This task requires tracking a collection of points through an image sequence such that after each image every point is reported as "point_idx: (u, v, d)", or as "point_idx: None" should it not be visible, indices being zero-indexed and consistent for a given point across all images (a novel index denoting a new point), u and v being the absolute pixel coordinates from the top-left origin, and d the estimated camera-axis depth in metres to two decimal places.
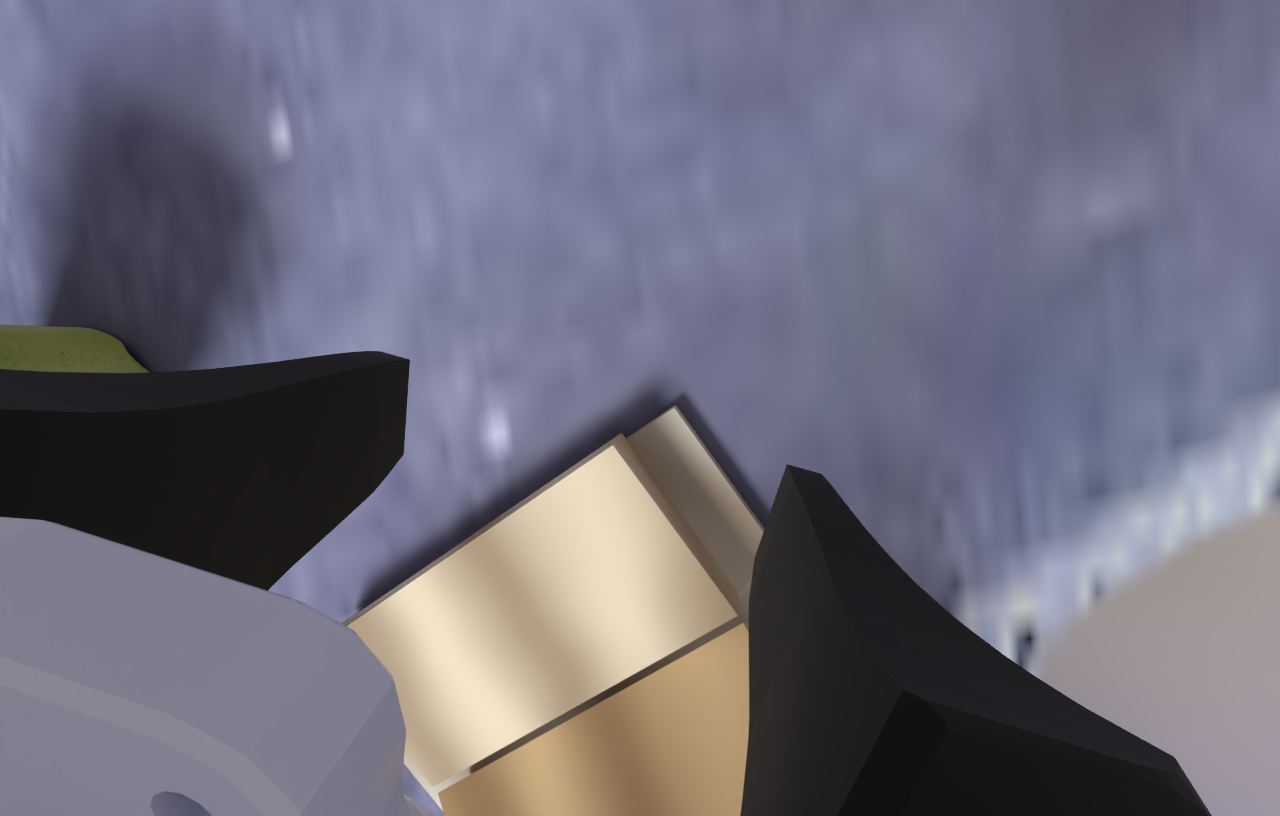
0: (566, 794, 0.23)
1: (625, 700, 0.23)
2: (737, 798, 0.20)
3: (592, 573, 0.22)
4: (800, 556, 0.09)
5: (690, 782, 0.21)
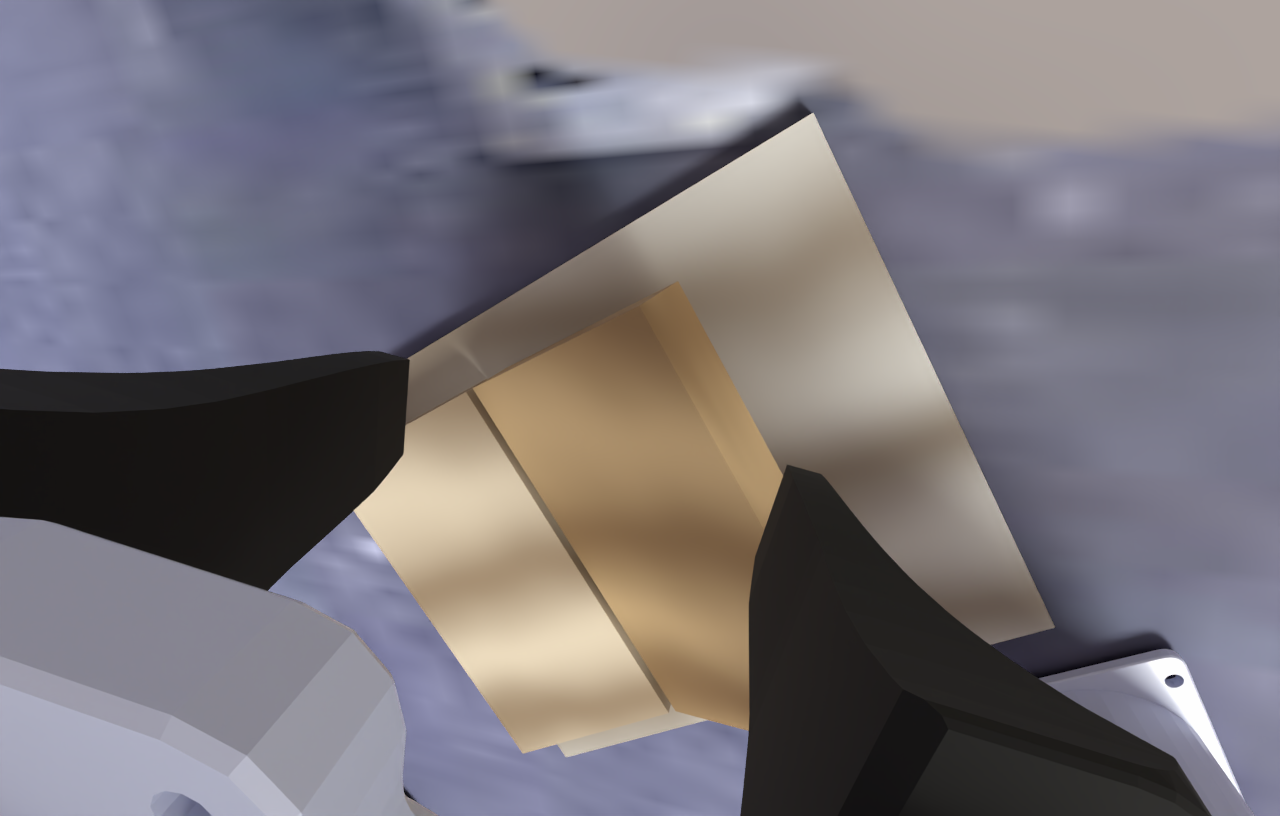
0: (639, 598, 0.22)
1: (556, 513, 0.22)
2: (589, 441, 0.19)
3: (436, 512, 0.24)
4: (800, 556, 0.09)
5: (592, 480, 0.20)
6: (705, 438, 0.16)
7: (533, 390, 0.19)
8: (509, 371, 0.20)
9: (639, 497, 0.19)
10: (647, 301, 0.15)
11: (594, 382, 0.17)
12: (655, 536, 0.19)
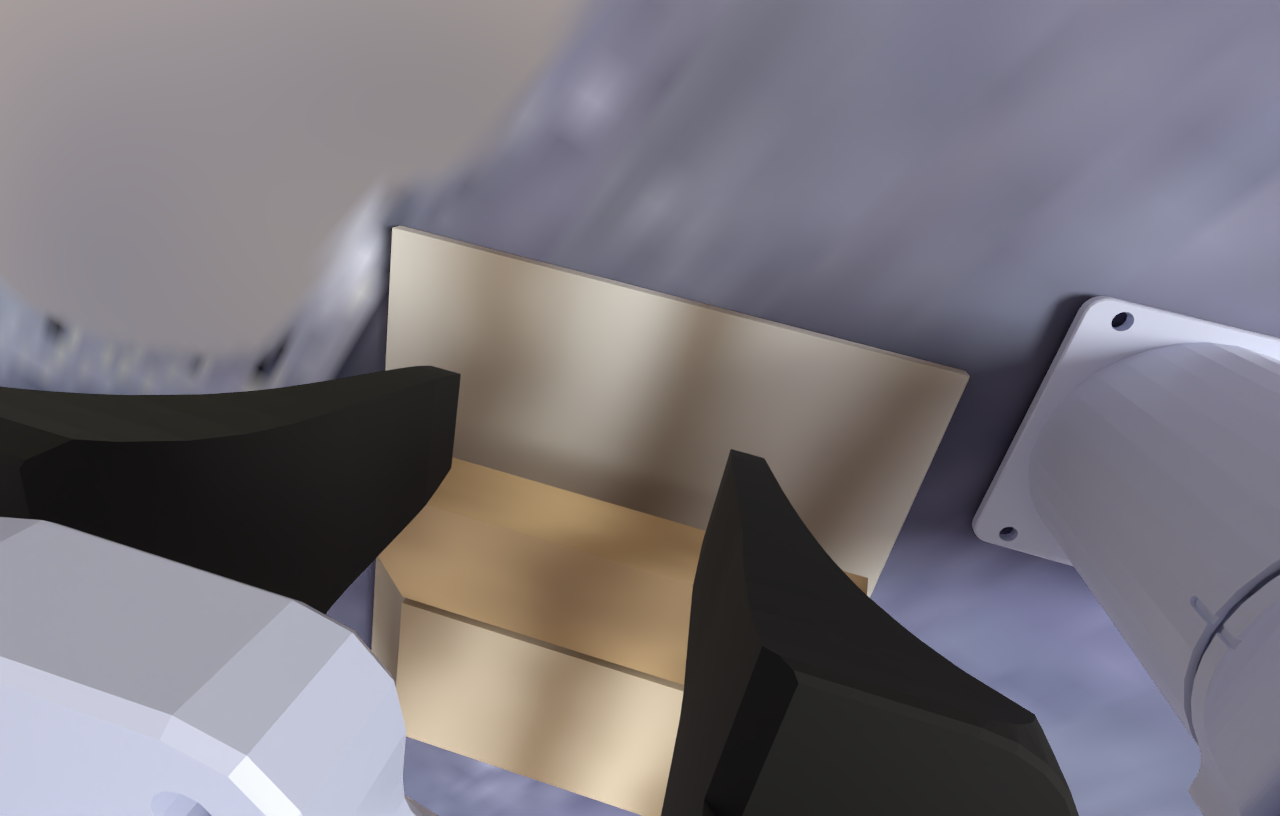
0: (629, 650, 0.22)
1: (531, 634, 0.23)
2: (455, 574, 0.20)
3: (473, 701, 0.26)
4: (728, 535, 0.09)
5: (496, 595, 0.21)
6: (456, 517, 0.17)
7: (405, 570, 0.22)
8: (387, 570, 0.22)
9: (516, 584, 0.20)
10: None
11: (398, 537, 0.19)
12: (558, 600, 0.20)
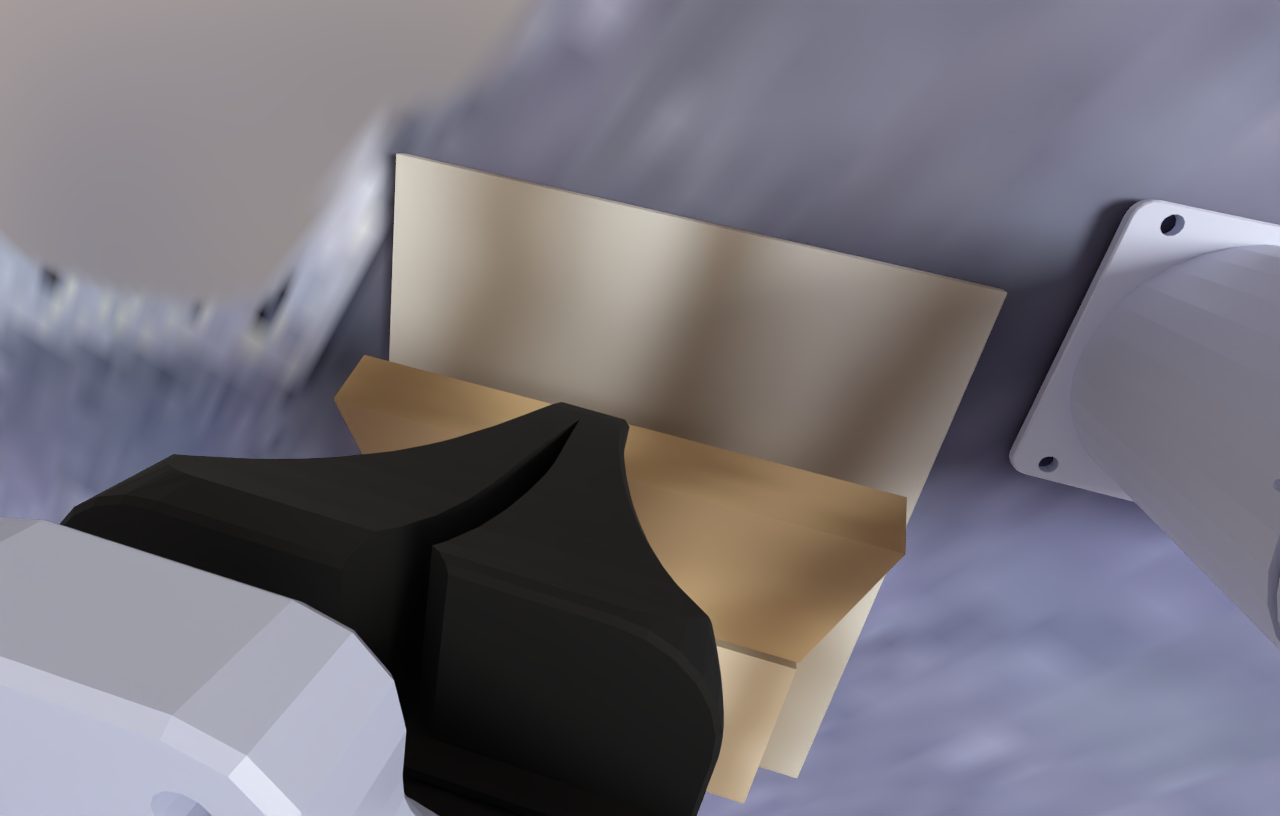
0: None
1: None
2: None
3: None
4: None
5: None
6: None
7: None
8: None
9: None
10: (341, 390, 0.16)
11: None
12: None
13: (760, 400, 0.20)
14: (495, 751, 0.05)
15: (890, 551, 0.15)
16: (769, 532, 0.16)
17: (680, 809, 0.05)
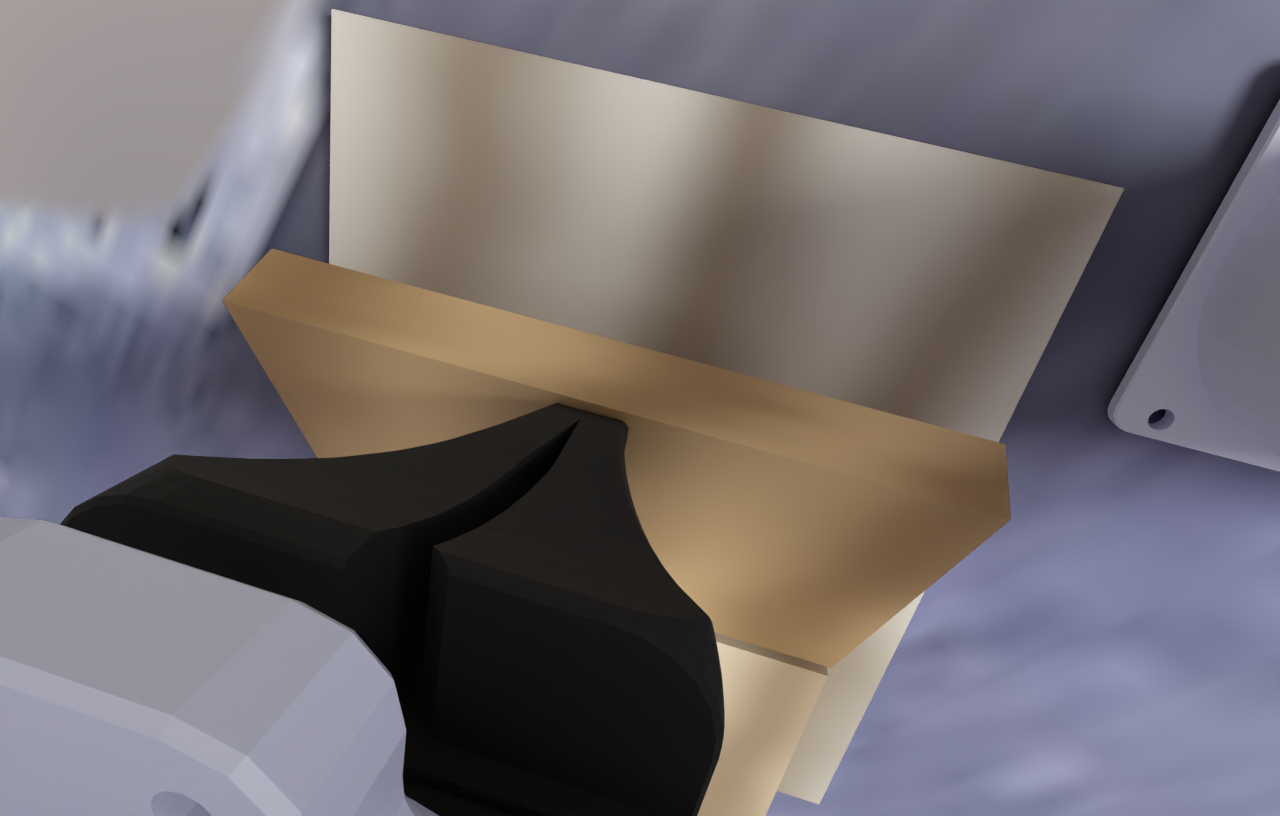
0: None
1: None
2: None
3: None
4: None
5: None
6: (404, 359, 0.12)
7: None
8: None
9: None
10: (234, 290, 0.12)
11: (334, 413, 0.14)
12: None
13: (791, 336, 0.16)
14: (496, 751, 0.05)
15: (989, 515, 0.10)
16: (816, 489, 0.11)
17: (681, 809, 0.05)
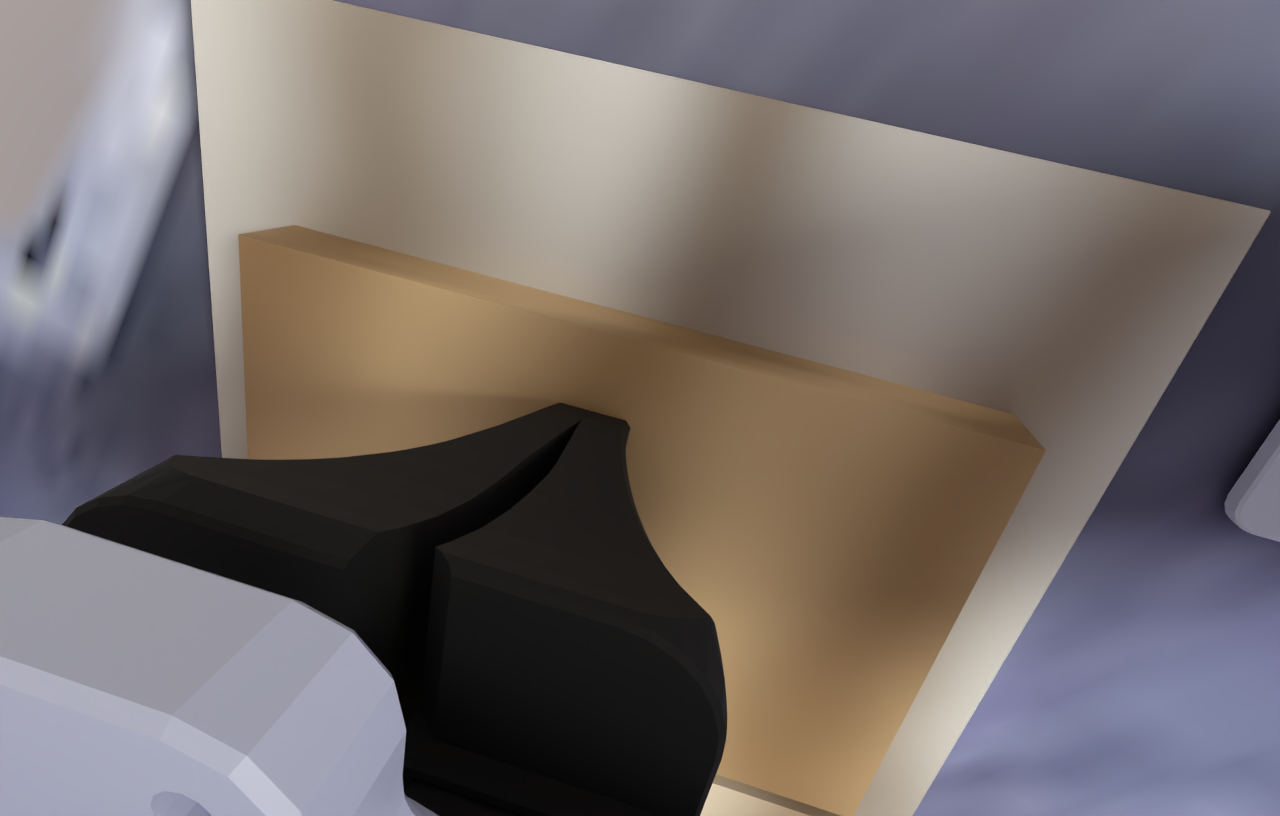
0: None
1: None
2: None
3: None
4: None
5: None
6: (419, 296, 0.11)
7: None
8: None
9: None
10: (252, 233, 0.12)
11: (303, 402, 0.13)
12: None
13: None
14: (498, 752, 0.05)
15: (1023, 448, 0.10)
16: (844, 438, 0.11)
17: (683, 810, 0.05)
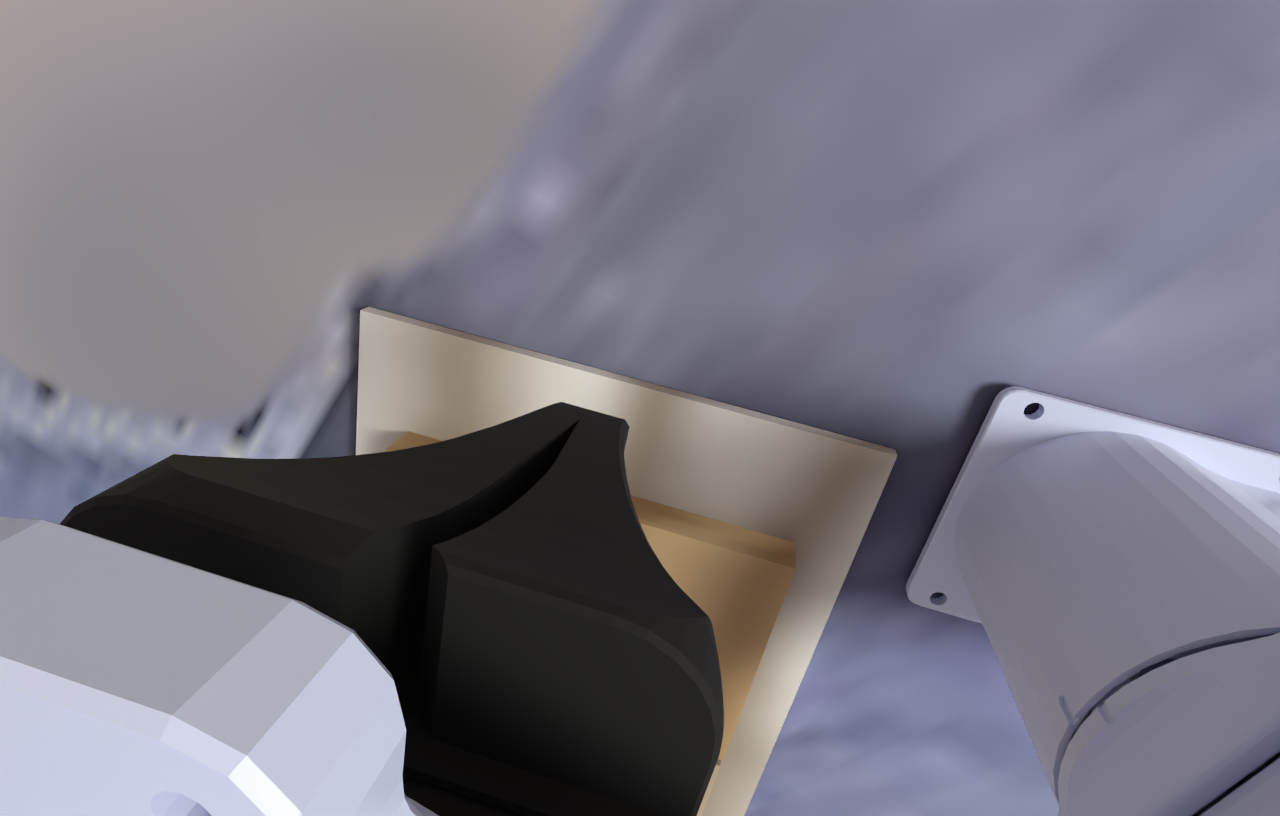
0: None
1: None
2: None
3: None
4: None
5: None
6: None
7: None
8: None
9: None
10: (391, 445, 0.22)
11: None
12: None
13: None
14: (495, 751, 0.05)
15: (785, 567, 0.21)
16: (700, 560, 0.21)
17: (680, 809, 0.05)
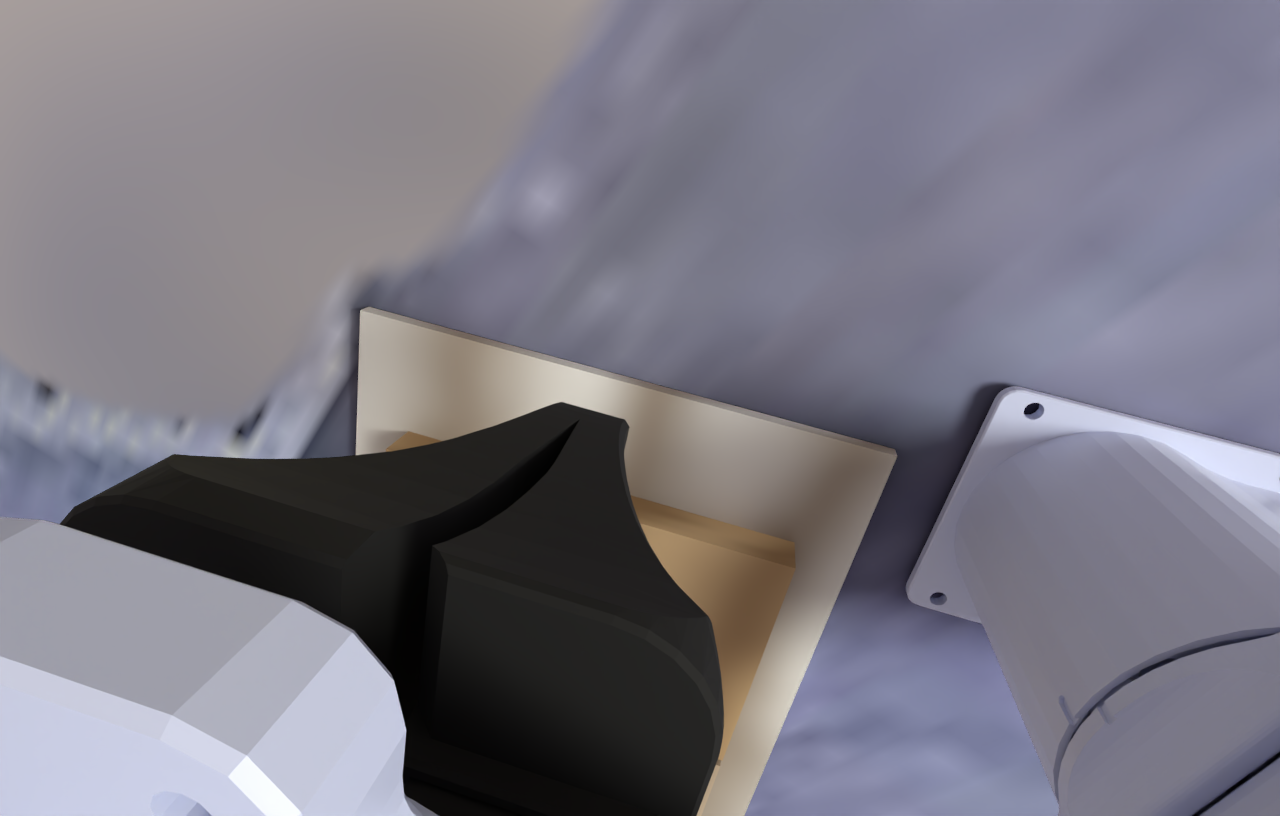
0: None
1: None
2: None
3: None
4: None
5: None
6: None
7: None
8: None
9: None
10: (391, 445, 0.22)
11: None
12: None
13: None
14: (495, 751, 0.05)
15: (785, 567, 0.21)
16: (700, 560, 0.21)
17: (680, 809, 0.05)
